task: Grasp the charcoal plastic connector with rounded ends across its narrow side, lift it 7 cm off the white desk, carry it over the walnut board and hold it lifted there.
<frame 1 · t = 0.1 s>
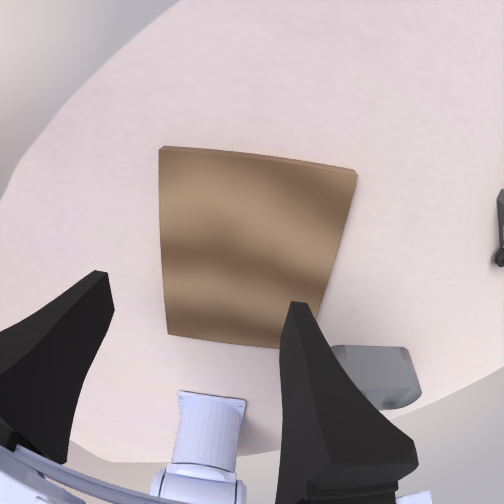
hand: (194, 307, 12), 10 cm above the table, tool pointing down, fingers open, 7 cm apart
connector: (365, 358, 28), on the table
walnut board: (245, 262, 23), on the table
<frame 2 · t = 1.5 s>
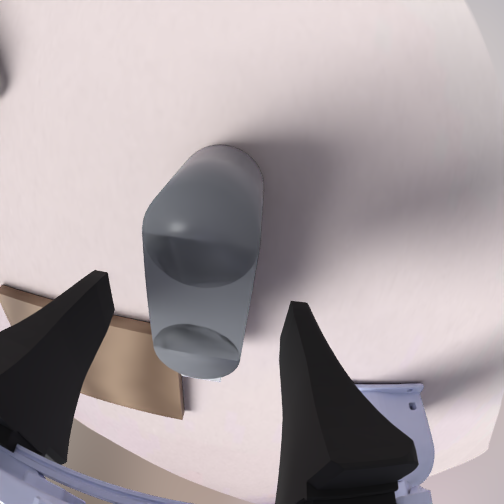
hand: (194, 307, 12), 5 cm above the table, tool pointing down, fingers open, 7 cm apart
connector: (215, 240, 16), on the table
walnut board: (92, 356, 23), on the table
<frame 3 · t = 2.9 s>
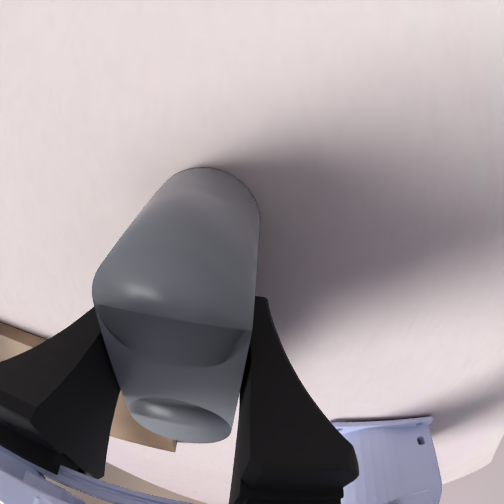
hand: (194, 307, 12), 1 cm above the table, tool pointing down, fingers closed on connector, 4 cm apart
connector: (201, 284, 13), on the table, touching gripper
walnut board: (75, 389, 20), on the table
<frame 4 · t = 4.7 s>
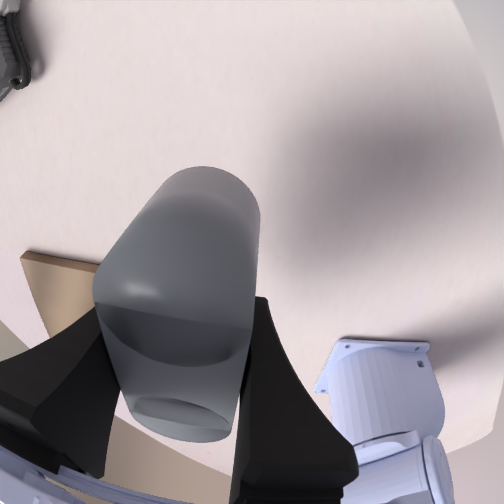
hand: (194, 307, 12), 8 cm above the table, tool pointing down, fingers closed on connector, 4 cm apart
connector: (201, 283, 13), point 7 cm above the table, touching gripper
walnut board: (112, 320, 25), on the table
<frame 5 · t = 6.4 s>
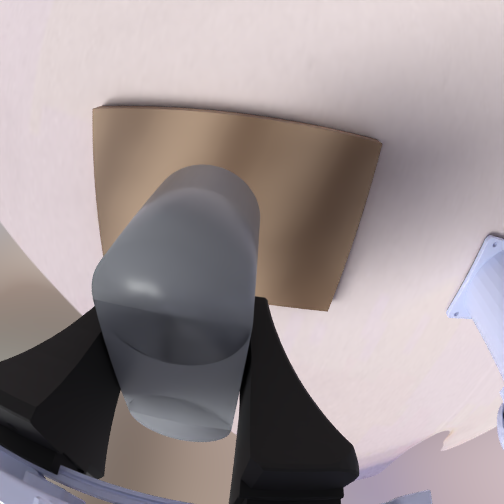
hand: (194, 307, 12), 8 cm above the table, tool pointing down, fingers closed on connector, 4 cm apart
connector: (201, 281, 13), point 7 cm above the table, touching gripper
walnut board: (222, 211, 19), on the table
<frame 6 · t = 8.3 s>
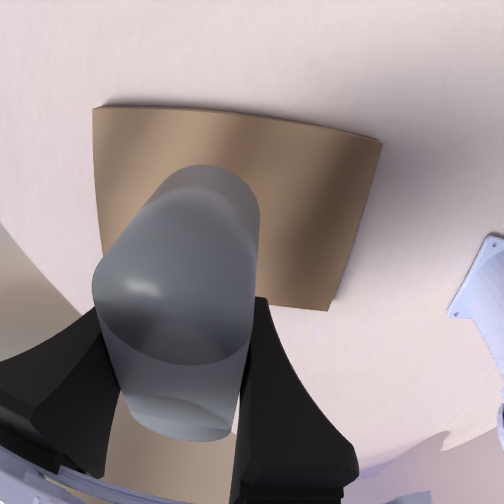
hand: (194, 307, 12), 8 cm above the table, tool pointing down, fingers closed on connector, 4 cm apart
connector: (201, 281, 13), point 7 cm above the table, touching gripper
walnut board: (222, 211, 19), on the table
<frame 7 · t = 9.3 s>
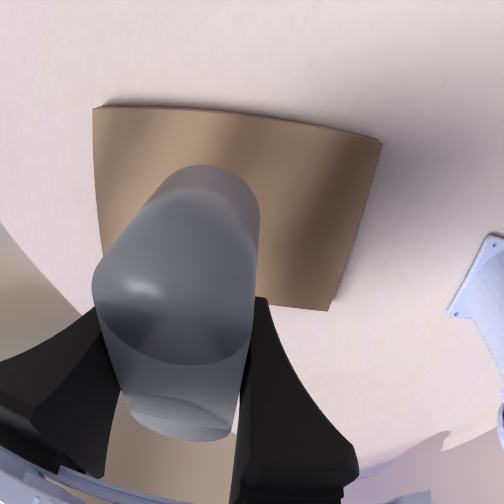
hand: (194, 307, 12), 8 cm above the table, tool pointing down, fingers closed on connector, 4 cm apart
connector: (201, 281, 13), point 7 cm above the table, touching gripper
walnut board: (222, 211, 19), on the table
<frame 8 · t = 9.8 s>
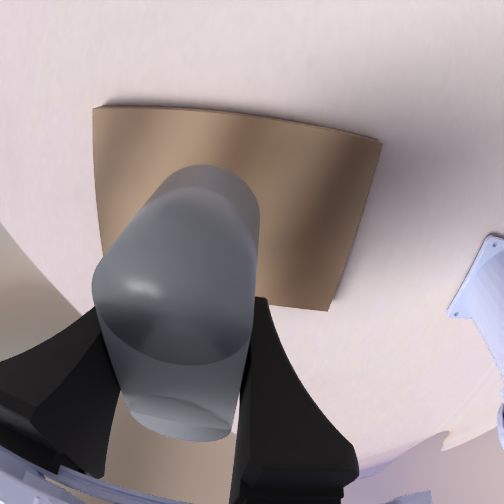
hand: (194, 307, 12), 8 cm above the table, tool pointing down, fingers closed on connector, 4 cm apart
connector: (201, 281, 13), point 7 cm above the table, touching gripper
walnut board: (222, 211, 19), on the table
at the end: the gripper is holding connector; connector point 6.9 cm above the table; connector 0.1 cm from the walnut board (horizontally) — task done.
